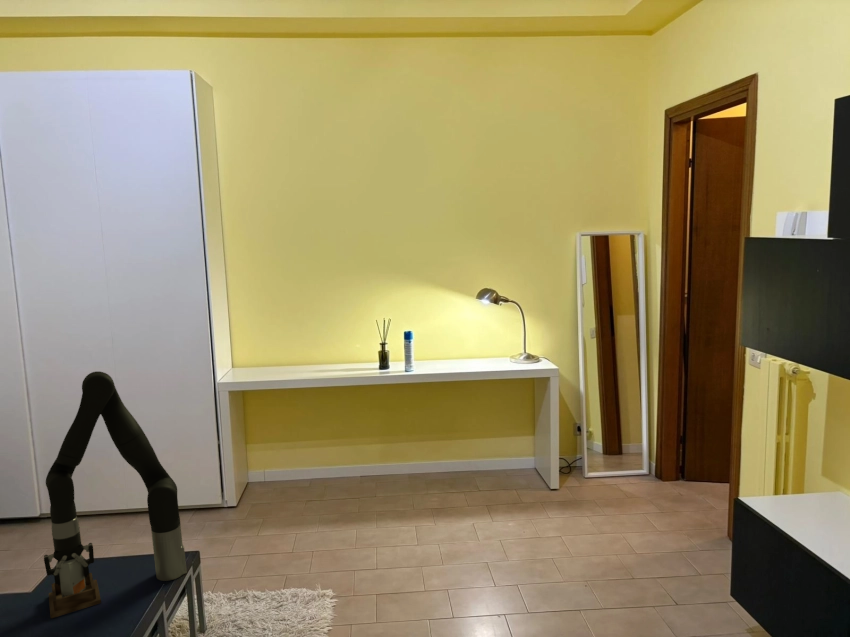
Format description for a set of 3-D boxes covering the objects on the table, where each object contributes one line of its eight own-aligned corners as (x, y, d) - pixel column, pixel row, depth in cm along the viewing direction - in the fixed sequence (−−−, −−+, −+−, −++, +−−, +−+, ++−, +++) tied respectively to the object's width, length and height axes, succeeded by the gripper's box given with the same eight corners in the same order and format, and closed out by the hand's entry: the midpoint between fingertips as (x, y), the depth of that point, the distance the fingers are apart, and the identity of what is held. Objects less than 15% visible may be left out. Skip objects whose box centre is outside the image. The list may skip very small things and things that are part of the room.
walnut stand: (96, 582, 216) (95, 569, 215) (101, 603, 204) (99, 589, 203) (49, 596, 209) (47, 583, 208) (50, 618, 197) (48, 604, 196)
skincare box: (73, 599, 203) (68, 564, 201) (61, 598, 204) (56, 563, 202) (87, 588, 209) (82, 554, 207) (75, 587, 210) (70, 553, 208)
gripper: (90, 521, 210) (96, 568, 212) (39, 534, 202) (46, 582, 205) (92, 530, 203) (98, 578, 206) (40, 543, 196) (47, 593, 199)
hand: (72, 580), depth 205 cm, fingers closed on skincare box, 7 cm apart
